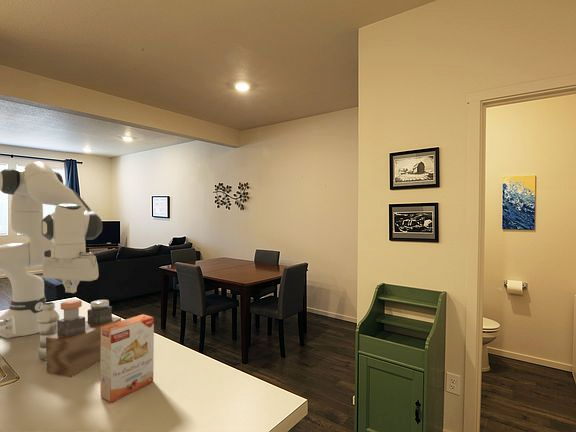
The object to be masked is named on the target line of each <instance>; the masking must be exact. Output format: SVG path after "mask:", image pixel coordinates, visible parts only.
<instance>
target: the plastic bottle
mask: <svg viewBox="0 0 576 432" xmlns="http://www.w3.org/2000/svg"><path fill="white" fill-rule="evenodd" d="M55 309H56V304H55V302H52V301H50V302H46V303H44V304H42V310H43V311H42V313H41V314H40V315H39V317H38V326H39V331H40V332H39V347H38V350H37V351H38V353H37V354H38V358H39V360H42V361H47V359H46V337H48V336H51V335H53V334H56V333H58V330H57V321H58V320H60V314H59V313H58V312H57V310H55Z"/></svg>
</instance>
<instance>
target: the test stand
mask: <svg viewBox="0 0 576 432" xmlns="http://www.w3.org/2000/svg"><path fill="white" fill-rule="evenodd" d="M119 321H122V318H121V317H113V306H110V305H109V306H107V307H106V308H104V309H101V310H94V309H92V308H91V307H90V308H89V309H87V320H86V317H85V316H81V315H79V318H78V319H75V320H72V321H67V320H64V317H63V318H61V319H59V320H58V321H57V330H58V333H56V334H53V335H51V336H48V337H46V359H47V360H46V374H50V375H56V376H62V377H68V378H72V377H73V376H76V375H78V374H79V373H81V372H82V371H84V370H86V369H87V368H90V367H92V366H94V365H95V364H97V363H99V362H101V327H102V326H105V325H108V324H112V323H115V322H119Z"/></svg>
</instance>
